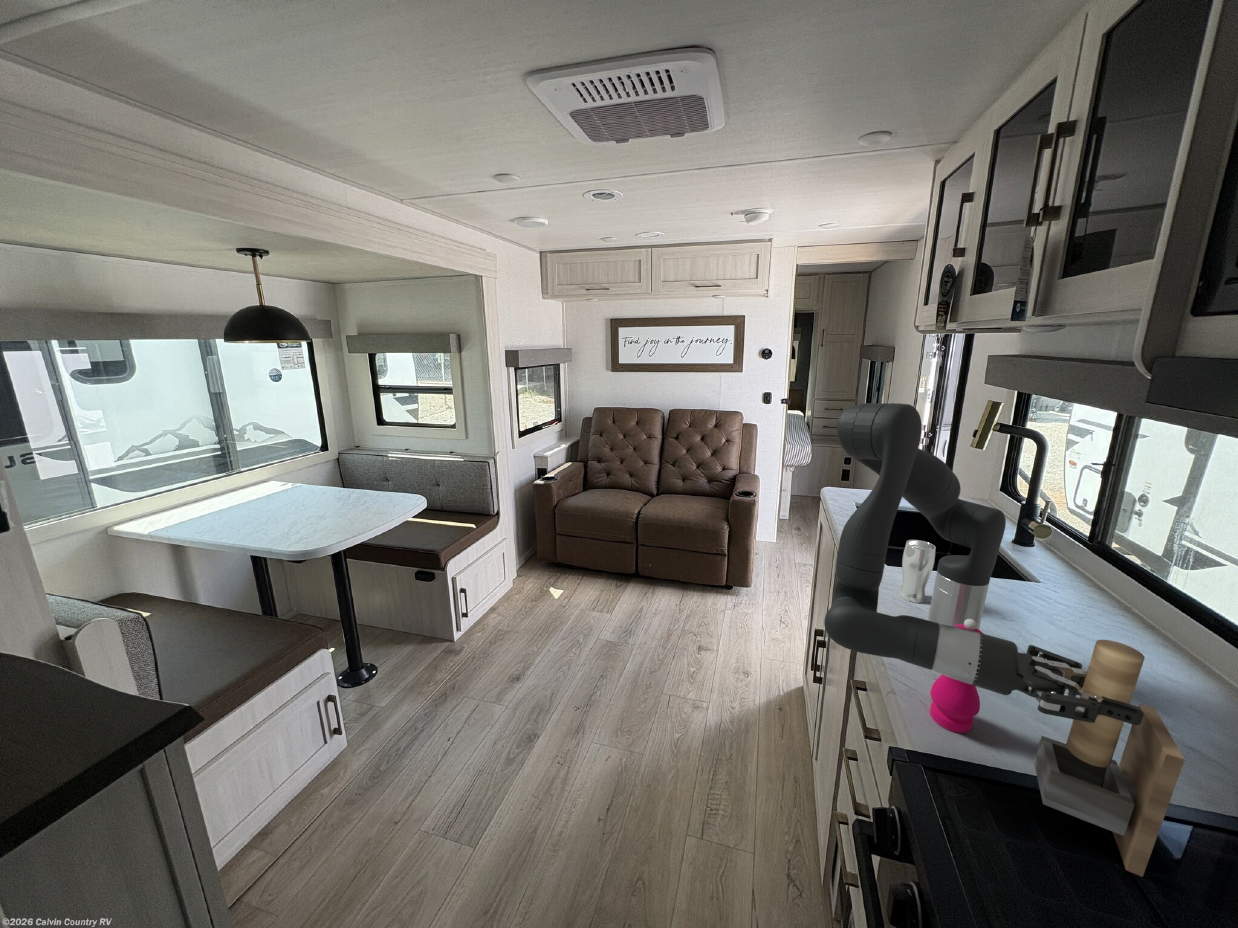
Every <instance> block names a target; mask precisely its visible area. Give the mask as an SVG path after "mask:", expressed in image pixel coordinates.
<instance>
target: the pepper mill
mask: <svg viewBox="0 0 1238 928" xmlns="http://www.w3.org/2000/svg"><path fill="white" fill-rule="evenodd" d="M954 626H955V627H960V628H964V629H968V630H971V631H975V632H979V633H982V634H984V632H983V631H982V630H980V628H979V629H977V628H976V627H977V624H976V622H975V621H974V620H972V619H967V620H965V622H964V624H958V625H954ZM929 691H930V692H929V693H930V697H931V698H930V699H931V700H932V702H931V704H930V709H929V714H930V715H929V716H930V717H931V719H932V720H933V721H934V722H935V723H936V724H937V725H938V726H940V727H942V728H943V729H946V730H948V731H951V732H953V733H954V732H955V733H959V734H964V733H965V734H966V733H968V732H970V731H972V728H973V723H974V718H975V716H977V715H978V714H979V712H980V708H981V700H980V696H979V692H978V690H977V686H974V685H971V684H968V683H965V682H961V681H958V680H955V679H952V678H949V677H947V676H945V675H942V674H941V675H940V676H939V677H938V678H937V679H935V681H934V682H933V684H932V685H931V689H930V690H929Z"/></svg>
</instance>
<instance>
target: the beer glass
mask: <svg viewBox="0 0 1238 928" xmlns="http://www.w3.org/2000/svg"><path fill="white" fill-rule="evenodd" d="M936 548H937V547H936V546H935V545H934V544H932V543H931V542H928V541H925V540H919V539H908V540H906V542H905V547H904V550H903V554H902V560H901V561H902V563H901V566H902V567H901V568H902V569H901V570H902V581H901V582H902V583H901V586H900V589H899V590H898V596H899V595H900V596H899V598H901V597H902V598H901V599H903V598H904V599H903V600H904V601H908V602H910V601H911V602H910V603H916V604H922V603H924V602H926V587H927V583H928V581H929V579H930V577H931V574H932V572H933V568H934V566H935V565H934V564H935V558H936Z"/></svg>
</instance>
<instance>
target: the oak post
mask: <svg viewBox="0 0 1238 928" xmlns="http://www.w3.org/2000/svg"><path fill="white" fill-rule="evenodd" d="M1144 661H1145V655H1144V654H1143V652H1140V651H1139V650H1137V649H1136V648H1134V647H1131V646H1129V645H1127V644H1124V643H1122V642H1118V641H1116V640H1110V639H1097V640H1096V641H1095V645H1094V647H1093V650H1092V655H1091V657H1090V661H1089V665H1088V668H1087V675H1086V678H1085V681H1084V685H1083V688H1082V689H1084V690H1087V691H1089V692H1092V693H1094V694H1097V695H1099V696H1101V697H1102V696H1103V697H1107V698H1109V699H1113V700H1116V701H1120V702H1124V703H1127V704H1130V705H1131V701H1132V699H1133V695H1134V692H1135V689H1136V686H1137V683H1138V679H1139V677H1140V674H1141V671H1142V670H1141V669H1142V667H1143V665H1144ZM1079 698H1083V699H1087V698H1084V697H1082V696H1079ZM1076 711H1079V712H1083V711H1081V710H1078V709H1076ZM1071 723H1072V724H1071V726H1070V730H1069V732H1068V733H1069V734H1068V737H1067V740H1066V742H1065V744H1066V746H1067V748H1068V750H1069V751H1070V752H1071V753H1072V754H1073V755H1074V756H1076V757H1077V758H1079V759H1080V760H1082V761H1084V762H1086V763H1088V764H1091V765H1094V766H1098V767H1108V766H1110V764H1111V761H1112V760H1113V758H1114V754H1115V752H1116V749H1117V748H1116V747H1117V745H1118V742H1119V740H1120V739H1119V738H1120V736H1121V733H1122V729H1123V726H1124V724H1125V722H1123V721H1120V720H1117V719H1114V718H1110V717H1107V716H1104V715H1098V716H1097V718H1096V720H1095V723H1090V722H1085V721H1080V720H1074V719H1072V722H1071Z"/></svg>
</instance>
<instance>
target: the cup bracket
mask: <svg viewBox="0 0 1238 928" xmlns="http://www.w3.org/2000/svg"><path fill="white" fill-rule="evenodd" d="M1137 707H1139V708H1141V709H1142V711H1143V713H1144V716H1143V719H1142V722H1141V724H1140V725H1133V724H1131V727H1130V730H1129V732H1128V733H1129V734H1128V737H1127V739H1126V743H1125V745H1124V749H1123V752H1122V756H1121V758H1120V762H1119V765H1118V762H1117V760H1115V759H1112V761H1111V764H1110V766H1108V767H1098V766H1094V765H1091V764H1088V763H1086V762H1084V761H1082V760H1080V759H1079V758H1077V757H1076V756H1074V755H1073V754H1072V753H1071V752H1070V751H1069V750H1068V748H1067V746H1066V742H1065V743H1064V742H1061V741H1058V740H1055V739H1054V738H1050V737H1047V736H1044V735H1041V736H1040V741H1039V744H1038V748H1037V752H1036V755H1035V758H1034V763H1033V764H1034V770H1035V773H1036V778H1037V783H1038V788H1039V791H1040V796H1041V800H1042V804H1043V805H1044V806H1046V807H1050V808H1052V809H1054V810H1057V811H1060V812H1061V813H1065V814H1067V815H1070V816H1072V817H1075V818H1077V819H1080V820H1082V821H1084V822H1087V823H1090V824H1092V825H1095V826H1098V827H1100V828H1102V829H1106V830H1108V831H1109V832H1110V831H1111V832H1112V834H1113V836H1114V839H1115V843H1116V845H1117V848H1118V850H1119V851H1118V852H1119V853H1120V857H1121V860H1122V862H1123V866H1124V868H1125V870H1126V871H1127V872H1129V873H1132V874H1135V875H1137V876H1139V877H1141V878H1143V877H1144V874H1145V872H1146V868H1147V866H1148V864H1149V862H1150V858H1151V856H1152V852H1153V849H1154V847H1155V845H1156V844H1155V843H1156V841H1157V838H1158V836H1159V832H1160V830H1161V827H1162V824H1163V822H1164V819H1165V816H1166V813H1167V811H1168V808H1169V805H1170V802H1171V799H1172V797H1173V794H1174V790H1175V789H1176V786H1177V783H1178V780H1179V777H1180V774H1181V772H1182V768H1183V766H1184V763H1185V761H1186V759H1185V758H1184V756H1183V754H1182V752H1181V750H1180V749H1179V747H1178V746H1177V743H1176V742H1175V740H1174V738H1173V737H1172V735H1171V733H1170V732H1169V730H1168V728H1167V726H1166V725H1165V723H1164V721H1163V720H1162V718H1161V717H1160V714H1159V713H1158V712H1157V709H1156V708H1155V707H1152V706H1149V705H1145V704H1141V703H1138V705H1137Z"/></svg>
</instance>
